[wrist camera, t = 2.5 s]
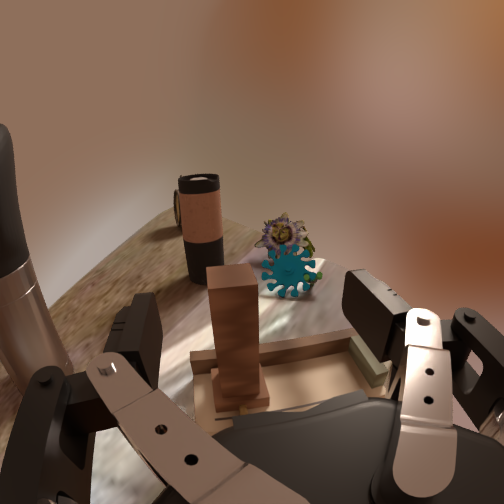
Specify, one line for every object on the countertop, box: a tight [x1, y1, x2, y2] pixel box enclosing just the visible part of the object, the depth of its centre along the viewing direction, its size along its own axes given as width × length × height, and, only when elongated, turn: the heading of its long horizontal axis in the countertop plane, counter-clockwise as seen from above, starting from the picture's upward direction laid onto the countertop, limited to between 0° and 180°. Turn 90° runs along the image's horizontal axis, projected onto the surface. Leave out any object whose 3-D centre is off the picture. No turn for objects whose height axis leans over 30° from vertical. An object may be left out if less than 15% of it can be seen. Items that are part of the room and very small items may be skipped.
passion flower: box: [255, 212, 315, 259], centre depth 66 cm, size 11×11×12 cm
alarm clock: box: [174, 175, 182, 226], centre depth 85 cm, size 11×5×16 cm, turn 23°
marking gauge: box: [206, 263, 270, 415], centre depth 26 cm, size 6×6×15 cm
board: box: [190, 328, 388, 436], centre depth 30 cm, size 21×10×4 cm, turn 100°
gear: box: [262, 244, 322, 297], centre depth 54 cm, size 11×6×10 cm
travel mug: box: [178, 174, 224, 284], centre depth 55 cm, size 8×8×20 cm
